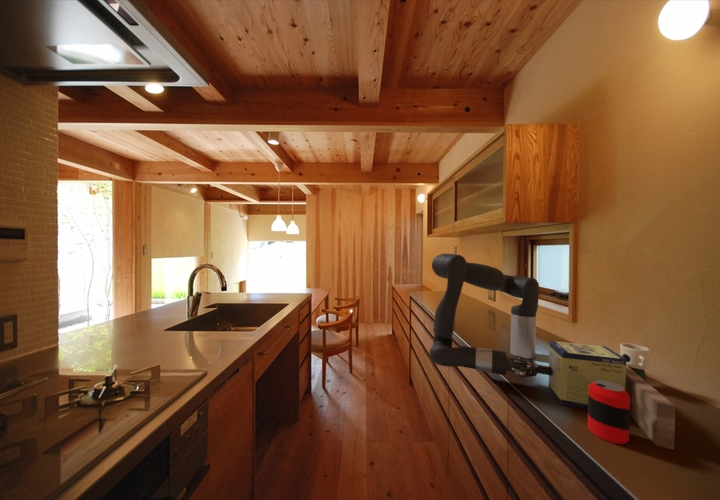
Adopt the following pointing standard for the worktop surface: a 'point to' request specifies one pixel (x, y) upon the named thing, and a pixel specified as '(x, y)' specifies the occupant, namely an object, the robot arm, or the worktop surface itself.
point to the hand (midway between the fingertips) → (551, 371)
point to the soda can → (608, 411)
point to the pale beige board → (651, 410)
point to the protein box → (582, 370)
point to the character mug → (636, 358)
